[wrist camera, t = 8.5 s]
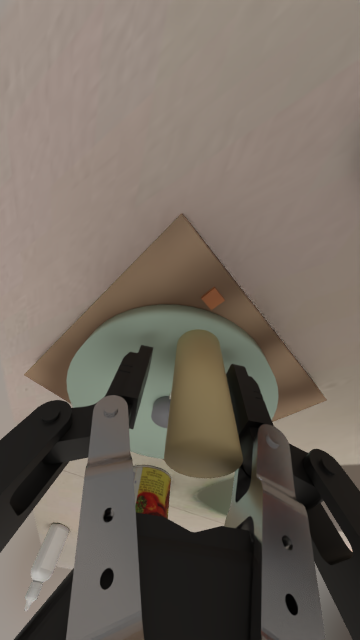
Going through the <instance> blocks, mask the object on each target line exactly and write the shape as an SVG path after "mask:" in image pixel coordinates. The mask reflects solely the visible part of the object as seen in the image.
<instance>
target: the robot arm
mask: <svg viewBox="0 0 360 640" xmlns="http://www.w3.org/2000/svg"><path fill="white" fill-rule="evenodd" d="M152 353H153V347H149V346H145V345H141V346H140V349H139V352H138V353H134V352H129V353H128V354H127V355H125V356H124V357H123V360H122V362H121V364H120V366H119V368H118V371H117V372H116V374H115V376H114V379H113V381H112V383H111V385H110V387H109V389H108V391H107V393H106V395H105V396H104V398H102V399H100V400H99V401H98V402H97V403H95V404H93V405H90V406H84V407H75V408H71V406H70V405H69V404H68V403H67V402H65V401H61V400H54V401H50V402H47V403H45V404H43V405H41V406H39V407H38V408H37V409H36V410H34V411H33V412H32V413H31V414H30V415H29V416H28V417H26V418H25V419H24V420H23V421H22V422H21V423H19V424H18V425H17V426H16V427H15V428H14V429H13V430H11V431H10V432H9V433H8V434H7V435H6V436H5V437H3V438H2V439H1V440H0V552H1V551H2V550H3V548H4V547H5V546H6V544H7V543H8V542H9V540H10V539H11V538H12V537H13V535H14V534H15V533H16V531H17V530H18V528H19V527H20V526H21V525H22V523H23V522H24V521H25V519H26V518H27V517H28V515H29V514H30V513H31V511H32V510H33V509H34V507H35V506H36V505H37V503H38V502H39V501H40V500H41V498H42V497H43V496H44V494H45V493H46V492H47V490H48V489H49V488H50V486H51V485H52V484H53V482H54V481H55V480H56V478H57V477H58V476H59V474H60V473H61V472H62V470H63V469H64V468H65V466H66V465H67V464H68V463H69V461H72V460H77V459H82V458H87V457H88V463H87V466H86V470H85V477H84V486H83V494H82V503H81V512H80V521H79V530H78V538H77V547H76V556H75V565H74V568H73V570H72V571H71V572H70V573H69V574H68V576H67V577H66V578H65V579H64V580H63V582H62V583H61V584H60V585H59V586H58V587H57V589H56V590H55V591H54V592H53V594H52V595H51V596H50V597H49V598H48V599H47V601H46V602H45V603H44V604H43V605H42V607H41V608H40V609H39V610H38V611H37V612H36V614H35V615H34V616H33V617H32V619H31V620H30V621H29V622H28V623H27V625H26V626H25V627H24V628H23V629H22V630H21V632H20V633H19V634H18V635H17V636H16V638H15V639H14V640H326V638H325V631H324V624H323V618H322V611H321V604H320V597H319V590H318V583H317V577H316V570H315V563H316V565H317V568H318V570H319V572H320V574H321V575H322V578H323V580H324V582H325V584H326V586H327V588H328V590H329V592H330V594H331V596H332V598H333V600H334V602H335V604H336V606H337V608H338V610H339V612H340V614H341V616H342V618H343V620H344V623H345V625H346V627H347V628H348V630H349V633H350V635H351V637H352V639H353V640H360V491H359V490H358V488H357V487H356V486H355V484H354V483H353V482H352V480H351V479H350V478H349V476H348V475H347V474H346V473H345V471H344V470H343V469H342V467H341V466H340V465H339V463H338V462H337V461H336V460H335V459H334V458H333V457H332V456H330V455H329V454H328V453H326V452H324V451H322V450H320V449H313V450H311V451H310V452H309V453H307V452H305V451H303V450H301V449H299V448H297V447H295V446H293V445H291V444H289V443H288V440H287V439H286V437H285V436H284V434H283V433H282V432H281V431H280V430H278V429H277V428H276V427H274V425H273V423H272V420H271V418H270V415H269V412H268V410H267V407H266V404H265V402H264V400H263V396H262V394H261V391H260V388H259V386H258V384H257V382H256V381H255V380H254V379H253V377H251V376H248V374H247V371H246V368H245V367H244V366H240V365H236V364H231V365H230V367H229V369H228V371H227V374H226V377H227V382H228V387H229V392H230V397H231V402H232V407H233V411H234V416H235V421H236V426H237V431H238V436H239V441H240V446H241V451H242V456H243V462H242V465H241V466H240V467H239V468H238V469H237V470H236V471H235V476H234V484H233V492H232V500H231V505H230V509H229V511H228V514H227V517H226V521H225V525H224V526H220V527H216V528H212V529H208V530H204V531H200V532H195V533H194V532H190V531H188V530H187V529H185V528H183V527H181V526H179V525H178V524H176V523H174V522H172V521H170V520H169V519H167V518H165V517H161V516H155V515H149V514H142V513H136V510H135V493H134V476H133V462H132V457H131V454H130V437H129V429H134V425H135V421H136V418H137V414H138V410H139V407H140V403H141V399H142V396H143V392H144V388H145V385H146V381H147V377H148V373H149V369H150V364H151V359H152ZM322 501H324V502H325V503H326V505H327V507H328V508H329V510H330V512H331V513H332V515H333V516H334V518H335V520H336V521H337V523H338V524H339V526H340V528H341V529H342V531H343V533H344V534H345V536H346V537H347V539H348V541H349V543H350V545H351V547H352V551H353V552H351V551H350V550H349V548H348V547H347V546H346V544H345V543H344V541H343V539H342V538H341V536H340V534H339V533H338V531H337V530H336V528H335V526H334V525H333V523H332V521H331V520H330V518H329V516H328V515H327V513H326V511H325V510H324V508H323V506H322V505H321V502H322ZM314 561H315V563H314Z"/></svg>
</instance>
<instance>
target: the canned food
mask: <svg viewBox="0 0 360 640" xmlns="http://www.w3.org/2000/svg"><path fill="white" fill-rule="evenodd" d="M133 476H134V493H135V510H136V513H142V514H149V515H155V516H161V517H165V518H167V519H168V508H169V496H170V483H171V477H170V475H169V474H168V473H167V472H166V471H164V470H162V469H160V468H157V467H154V466H147V465H138V466H133Z"/></svg>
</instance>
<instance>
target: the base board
mask: <svg viewBox="0 0 360 640" xmlns="http://www.w3.org/2000/svg"><path fill="white" fill-rule="evenodd" d="M160 304H162V305H183V306H191V307H195V308H199V309H203V310H207V311H210V312H212V313H215V314H217V315H220V316H222V317H224V318H226V319H228V320H230V321H231V322H233V323H235V324H236V325H238V326H239V327H240V328H242V329H243V330H244V331H246V332H247V333H248V334H249V335H250V336H251V337H252V338H253V339H254V340H255V342H256V343H257V344H258V346H259V347H260V348H261V350H262V352H263V354H264V356H265V358H266V360H267V362H268V364H269V366H270V368H271V370H272V372H273V374H274V376H275V379H276V383H277V386H278V404H277V409H276V411H275V414H274V417H273V418H272V422H273V421H276V420H278V419H281V418H283V417H286V416H289V415H291V414H294V413H296V412H299V411H301V410H304V409H306V408H309V407H311V406H314V405H316V404H319V403H321V402H324V401H326V398H325V397H324V396H323V394H322V393H321V391H320V390H319V389H318V387H317V386H316V384H315V383H314V382H313V380H312V379H311V378H310V377H309V375H308V374H307V373H306V371H305V370H304V369H303V368H302V366H301V365H300V364H299V362H298V361H297V360H296V359H295V357H294V356H293V355H292V353H291V352H290V351H289V350H288V348H287V347H286V346H285V344H284V343H283V342H282V341H281V339H280V338H279V337H278V335H277V334H276V333H275V332H274V330H273V329H272V328H271V326H270V325H269V324H268V323H267V321H266V320H265V319H264V317H263V316H262V315H261V314H260V312H259V311H258V310H257V308H256V307H255V306H254V305H253V303H252V302H251V301H250V299H249V298H248V297H247V296H246V294H245V293H244V292H243V290H242V289H241V288H240V287H239V285H238V284H237V283H236V281H235V280H234V279H233V278H232V276H231V275H230V274H229V272H228V271H227V270H226V269H225V267H224V266H223V265H222V263H221V262H220V261H219V260H218V258H217V257H216V256H215V254H214V253H213V252H212V251H211V249H210V248H209V247H208V245H207V244H206V243H205V242H204V240H203V239H202V238H201V236H200V235H199V234H198V233H197V231H196V230H195V229H194V227H193V226H192V225H191V224H190V222H189V221H188V220H187V218H186V217H185V216H184V215H183V214H181V215H180V216H179V217H178V218H177V219H176V220H175V221H174V222H173V223H172V224H171V225H170V226H169V227H168V228H167V229H166V230H165V231H164V232H163V233H162V234H161V235H160V236H159V237H158V238H157V239H156V240H155V241H154V242H153V243H152V244H151V245H150V246H149V247H148V248H147V249H146V250H145V251H144V253H143V254H142V255H141V256H140V257H139V258H138V259H137V260H136V261H135V262H134V263H133V264H132V265H131V266H130V267H129V268H128V269H127V270H126V271H125V272H124V273H123V274H122V275H121V276H120V277H119V278H118V279H117V280H116V281H115V282H114V283H113V284H112V285H111V286H110V287H109V288H108V289H107V290H106V291H105V292H104V293H103V294H102V295H101V297H100V298H99V299H98V300H97V301H96V302H95V303H94V304H93V305H92V306H91V307H90V308H89V309H88V310H87V311H86V312H85V313H84V314H83V315H82V316H81V317H80V318H79V319H78V320H77V321H76V322H75V323H74V324H73V325H72V326H71V327H70V328H69V329H68V330H67V331H66V332H65V333H64V334H63V335H62V336H61V337H60V338H59V339H58V341H57V342H56V343H55V344H54V345H53V346H52V347H51V348H50V349H49V350H48V351H47V352H46V353H45V354H44V355H43V356H42V357H41V358H40V359H39V360H38V361H37V362H36V363H35V364H34V365H33V366H32V367H31V368H30V369H29V370H28V371H27V372H26V373H25V374H24V375H25V376H26V377H28V378H30V379H31V380H33V381H35V382H36V383H38V384H39V385H41V386H43V387H44V388H46V389H48V390H49V391H51V392H53V393H54V394H56V395H58V396H59V397H61V398H62V399H64V400H66V401H67V402H69V403H71V401H70V399H69V395H68V392H67V381H66V380H67V373H68V369H69V366H70V363H71V361H72V359H73V357H74V356H75V354H76V352H77V351H78V350H79V349H80V348H81V346H82V345H83V344H84V343H85V341H86V340H87V339H88V338H89V337H90V336H91V334H92V333H93V332H94V331H95V330H96V329H97V328H98V327H99V326H101V325H102V324H103V323H104V322H106V321H107V320H109V319H111V318H113V317H114V316H116V315H118V314H121V313H123V312H126V311H128V310H131V309H135V308H139V307H143V306H151V305H160ZM163 460H164V459H163ZM164 461H165V460H164Z"/></svg>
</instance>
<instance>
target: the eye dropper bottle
mask: <svg viewBox="0 0 360 640" xmlns="http://www.w3.org/2000/svg"><path fill="white" fill-rule="evenodd" d="M68 533H69V529H68V528H67V527H66V526H64V525H62V524H59V523H53V524H52V525H51V526H50V528H49V531H48V533H47V535H46V537H45V539H44V542H43V544H42V546H41V548H40V551H39V553H38V555H37V558H36V560H35V562H34V564H33V566H32V569H31V577H32V579H33V582H32V583H31V585H30V587H29V590H28V592H27V594H26V596H25V599H26V606H25V609H24V611H28V609H29V607H30V605H31V603H32V602H33V601H35V600H36V599H37V597H38V595H39V593H40V590H41V588H42V585H43V584H42V583H43V582H44V581H47V580H48V579H49V578H50V577H51V576H52V574H53V571H54V569H55V566H56V564H57V561H58V559H59V556H60V554H61V551H62V548H63V546H64V543H65V541H66V538H67V536H68Z"/></svg>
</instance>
